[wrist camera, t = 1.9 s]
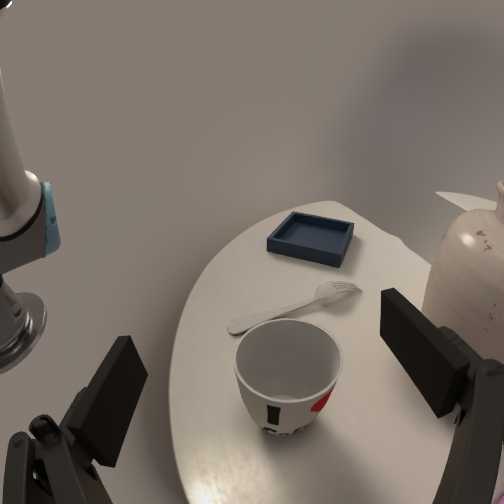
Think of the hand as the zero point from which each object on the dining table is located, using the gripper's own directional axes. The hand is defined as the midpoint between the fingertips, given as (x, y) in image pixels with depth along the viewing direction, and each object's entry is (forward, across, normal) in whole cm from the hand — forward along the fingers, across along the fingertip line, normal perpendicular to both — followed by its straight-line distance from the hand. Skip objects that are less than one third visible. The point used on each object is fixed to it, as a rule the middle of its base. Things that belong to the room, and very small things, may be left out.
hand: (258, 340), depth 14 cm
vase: (+8, +21, -18) cm, 29 cm away
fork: (+23, +5, -12) cm, 26 cm away
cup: (+7, 0, -15) cm, 17 cm away
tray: (+41, +12, -8) cm, 43 cm away
